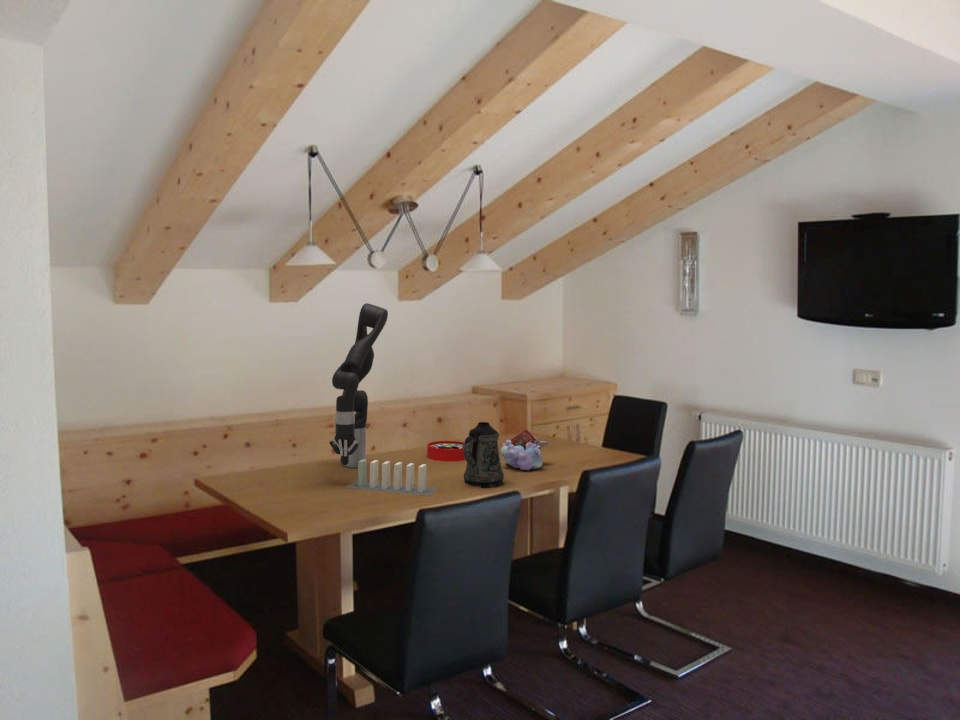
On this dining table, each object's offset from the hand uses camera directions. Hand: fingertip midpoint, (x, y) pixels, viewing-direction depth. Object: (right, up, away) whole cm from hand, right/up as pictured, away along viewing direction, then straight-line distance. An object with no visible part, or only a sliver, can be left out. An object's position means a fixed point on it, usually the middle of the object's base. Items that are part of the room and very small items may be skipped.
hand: (344, 465), depth 325 cm
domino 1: (+7, -8, -1) cm, 11 cm away
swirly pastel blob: (+73, -6, +41) cm, 84 cm away
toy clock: (+39, -4, +57) cm, 69 cm away
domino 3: (+17, -8, -4) cm, 19 cm away
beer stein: (+55, -9, +8) cm, 56 cm away
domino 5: (+26, -9, -6) cm, 29 cm away
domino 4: (+22, -9, -5) cm, 24 cm away
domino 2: (+12, -8, -2) cm, 15 cm away
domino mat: (+19, -9, -4) cm, 22 cm away
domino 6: (+31, -9, -7) cm, 33 cm away
